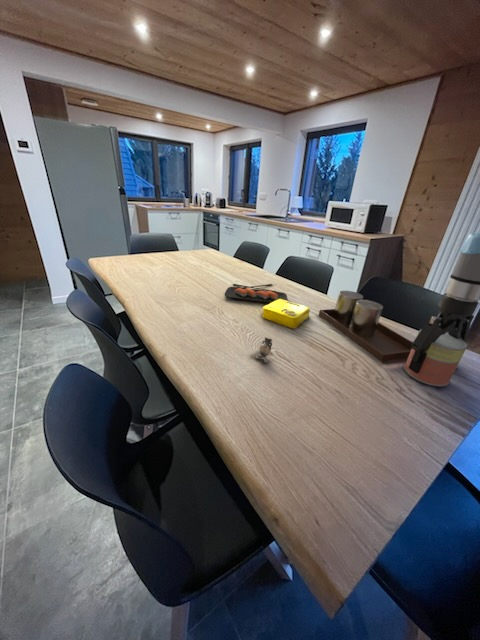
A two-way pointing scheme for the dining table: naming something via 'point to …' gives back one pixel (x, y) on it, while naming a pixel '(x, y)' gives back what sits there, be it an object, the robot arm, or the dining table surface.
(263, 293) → the sushi plate
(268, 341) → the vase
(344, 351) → the dining table surface
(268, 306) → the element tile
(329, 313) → the tray
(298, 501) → the dining table surface
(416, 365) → the robot arm
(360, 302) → the tin
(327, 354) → the dining table surface
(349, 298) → the tin
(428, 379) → the canned food
